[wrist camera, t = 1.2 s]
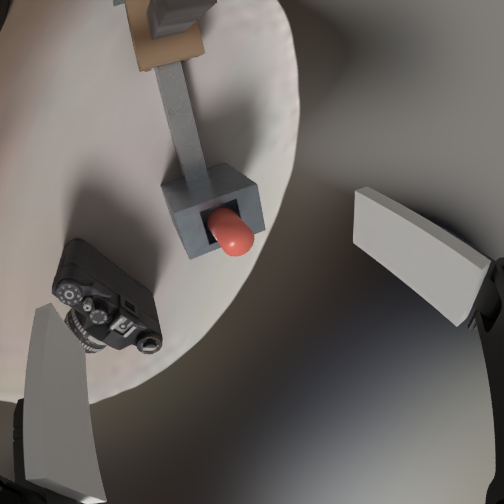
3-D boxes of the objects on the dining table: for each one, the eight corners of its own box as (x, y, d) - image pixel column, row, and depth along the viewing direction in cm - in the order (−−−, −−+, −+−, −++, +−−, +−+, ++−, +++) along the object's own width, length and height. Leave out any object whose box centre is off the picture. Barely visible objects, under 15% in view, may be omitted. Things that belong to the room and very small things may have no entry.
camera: (34, 288, 31) (20, 342, 23) (77, 228, 30) (67, 274, 22) (114, 338, 39) (121, 391, 32) (161, 291, 39) (176, 342, 31)
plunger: (203, 212, 27) (218, 232, 23) (231, 202, 27) (250, 220, 24) (211, 238, 28) (226, 261, 25) (237, 227, 29) (256, 249, 25)
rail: (108, -28, 17) (107, -65, 10) (183, -44, 19) (206, -80, 12) (173, 222, 35) (189, 259, 28) (236, 199, 37) (269, 228, 30)
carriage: (124, 10, 20) (130, -51, 9) (180, -3, 22) (225, -63, 10) (138, 73, 25) (150, 51, 13) (193, 59, 26) (247, 33, 15)
